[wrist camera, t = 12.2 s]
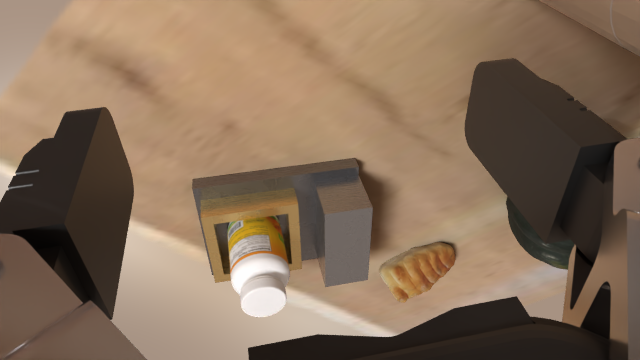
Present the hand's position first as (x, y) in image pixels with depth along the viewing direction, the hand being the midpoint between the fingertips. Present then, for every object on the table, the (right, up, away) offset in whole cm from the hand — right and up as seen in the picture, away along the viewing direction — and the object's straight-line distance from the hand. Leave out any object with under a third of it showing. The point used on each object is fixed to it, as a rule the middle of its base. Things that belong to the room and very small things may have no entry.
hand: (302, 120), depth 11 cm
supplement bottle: (-6, -6, +38) cm, 39 cm away
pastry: (+12, -12, +50) cm, 52 cm away
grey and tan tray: (-4, -5, +40) cm, 40 cm away
